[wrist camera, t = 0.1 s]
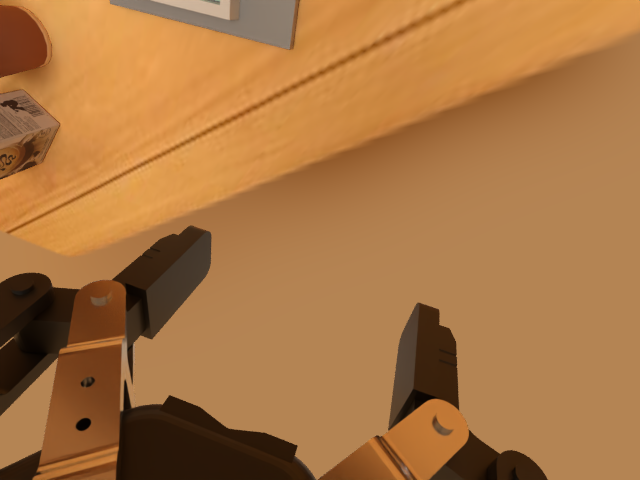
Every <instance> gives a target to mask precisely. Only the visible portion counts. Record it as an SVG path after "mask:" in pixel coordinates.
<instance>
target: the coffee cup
mask: <svg viewBox="0 0 640 480" xmlns="http://www.w3.org/2000/svg"><path fill="white" fill-rule="evenodd" d="M51 56H52V45H51V42H50V39H49V36H48V33H47V31H46V29H45V28H44V26H43V24H42V23H41V21H40V20H39V19H38V18H37V17H36V16H35V15H34V14H33V13H32V12H30V11H29V10H27V9H25V8H23V7H19V6H3V5H0V78H1V77H4V76H8V75H12V74H15V73H19V72H23V71H27V70H30V69H34V68H38V67H43V66H45V65H46V64H48V63H49V61H50V59H51Z"/></svg>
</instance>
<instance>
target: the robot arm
mask: <svg viewBox="0 0 640 480" xmlns="http://www.w3.org/2000/svg"><path fill="white" fill-rule="evenodd" d="M210 264H211V233H210V232H209V231H206V230H203V229H200V228H197V227H194V226H189V227H187V228H186V229H185V230H184V231H183V232H182V233H181V234H179V235H176V234H172V235H169V236H167V237H164V238H162V239H160V240H158V241H157V242H156V243H155V244H154V245H153V246H151V247H150V249H148V250H147V251H145V252H144V253H143V255H142V256H140V257H138V258H137V259H136V260H135V261H134V262H132V263H131V264H130V265H129V266H128V267H126V268H125V269H124V270H123V271H122V272H121V273H119V274H118V275H117V276H116V277H115V278H113V279H112V280H100V281H95V282H92V283H89V284H87V285H85V286H84V287H82V288H81V289H67V288H55V287H52V283H51V281H50V279H49V278H48V277H47V276H46V275H43V274H40V273H24V274H19V275H15V276H13V277H10V278H8V279H6V280H5V281H3V282H1V283H0V347H1V346H3V345H4V344H5V343H6V342H7V341H8V340H10V339H11V338H12V337H14V338H13V339H12V340H11V341H10V342H8V343H7V344H6V345H5V346H4V347H3V348H1V349H0V416H1V415H2V414H3V413H4V412H5V410H6V409H7V408H9V407H10V405H11V404H12V403H13V402H14V401H15V400H16V399H17V398H18V397H19V396H20V395H21V394H22V393H23V392H24V391H25V390H26V389H27V388H28V387H29V386H30V385H31V384H32V383H33V382H34V381H35V380H36V379H37V378H38V377H39V376H40V375H41V374H42V373H43V372H44V371H45V370H46V369H47V368H48V367H49V366H50V365H51V364H52V362H54V360H56V359H57V358H58V361H57V367H56V372H55V378H54V383H53V390H52V395H51V400H50V406H49V412H48V418H47V423H46V429H45V434H44V440H43V446H42V450H40V451H38V452H36V453H34V454H32V455H30V456H28V457H25V458H23V459H21V460H19V461H18V462H15V463H13V464H11V465H9V466H7V467H5V468H2V469H0V480H316V479H315V477H314V476H313V474H312V473H311V471H310V470H309V469H308V468H307V466H306V465H305V464H303V462H302V461H300V460H299V459H298V458H297V457H295V453H296V449H297V445H294V444H292V443H289V442H287V441H284V440H282V439H279V438H277V437H274V436H272V435H269V434H267V433H261V432H251V431H242V430H234V429H228V428H226V427H225V426H223V425H222V424H221V423H220V422H218V421H217V420H216V419H215V418H213V417H212V416H211V415H209V414H208V413H207V412H205V411H204V410H203V409H202V408H200V407H198V406H196V405H193V404H191V403H188V402H186V401H183V400H180V399H178V398H175V397H173V396H169V397H168V398H167V400H166V401H165V402H164V404H163V405H161V404H152V405H143V406H139V407H136V405H135V388H134V387H135V386H134V385H135V382H134V381H135V377H134V376H135V373H134V372H135V363H134V361H135V354H134V353H135V346H134V342H135V341H136V340H137V339H138V337H139V336H140V335H141V336H144V337H147V338H149V339H153V337H154V336H155V335H156V334H157V333H158V332H159V330H160V329H161V328H162V327H163V326H164V324H166V322H167V321H168V320H169V319H170V318H171V317H172V315H173V314H174V313H175V312H176V310H177V309H178V308H179V307H180V306H181V305H182V304H183V303H184V301H185V300H186V299H187V298H188V297H189V296H190V294H191V293H192V292H193V291H194V290H195V288H196V287H197V286H198V285H199V284H200V283H201V281H202V280H203V279H204V278H205V277H206V275H207V273H208V271H209V268H210ZM456 367H457V357H456V341H455V339H454V337H453V335H452V333H451V330H450V329H449V328H446V327H444V326H440V325H439V309H436V308H433V307H430V306H427V305H424V304H421V303H417V304H416V306H415V308H414V310H413V312H412V314H411V316H410V318H409V320H408V322H407V324H406V326H405V328H404V330H403V333H402V335H401V338H400V343H399V347H398V356H397V364H396V372H395V380H394V388H393V396H392V404H391V413H390V420H389V428H388V430H389V431H388V432H387V433H385V434H384V435H383V436H381V437H379V436H375V437H373V438H371V439H370V440H369V441H367V442H366V443H365V444H363V445H362V446H361V447H359V448H358V449H357V450H356V451H354V452H353V453H352V454H350V455H349V456H348V457H346V458H345V459H344V460H343V461H341V462H340V463H339V464H337V465H336V466H335V467H334V468H332V469H331V470H330V471H328V472H327V473H326V474H324V475H323V476H322V477H320V478H319V479H318V480H547V478H546V476H545V474H544V473H543V471H542V470H541V469H540V467H539V466H538V465H537V464H536V463H535V462H534V461H532V460H531V459H530V458H529V457H527V456H526V455H524V454H522V453H520V452H517V451H512V450H510V451H505V452H503V453H501V454H499V453H498V452H496V451H495V450H494V449H492V448H490V447H489V446H488V445H486V444H485V443H484V442H482V441H481V440H479V439H478V438H477V437H476V436H475V435H473V433H472V432H471V431H470V430H469V429H468V425H467V422H466V420H465V418H464V417H463V415H462V414H461V413H460V411H459V400H458V377H457V368H456Z"/></svg>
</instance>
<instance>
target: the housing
mask: <svg viewBox="0 0 640 480" xmlns="http://www.w3.org/2000/svg"><path fill="white" fill-rule="evenodd" d="M110 4H113V5H117V6H121V7H125V8H129V9H133V10H137V11H141V12H144V13H148V14H152V15H156V16H160V17H164V18H168V19H172V20H176V21H180V22H184V23H187V24H191V25H195V26H199V27H203V28H207V29H211V30H215V31H219V32H223V33H226V34H230V35H234V36H238V37H242V38H246V39H250V40H254V41H258V42H262V43H266V44H269V45H273V46H277V47H281V48H285V49H289V50H290V49H293V44H294V36H295V28H296V20H297V13H298V5H299V0H110Z"/></svg>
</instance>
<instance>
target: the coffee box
mask: <svg viewBox="0 0 640 480" xmlns="http://www.w3.org/2000/svg"><path fill="white" fill-rule="evenodd" d="M59 126H60V124H59V123H58V122H57V121H56V120H55V119H54V118H53V117H52V116H51V115H50V114H49V113H48V112H46V111H45V110H44V109H43V108H42V107H41V106H40V105H39V104H38V103H37V102H36V101H35V100H34V99H33V98H32V97H30V96H29V95H28V94H27V93H26V92H25V91H24V90H17V91H12V92H7V93H3V94H0V179H3V178H5V177H8V176H10V175H13V174H15V173H18V172H20V171H23V170H25V169H28V168H30V167H33V166H35V165H38V164H40V163H42V161H43V159H44V157H45V155H46V153H47V150H48V148H49V146H50V144H51V142H52V140H53V138H54V136H55V134H56V132H57V130H58V128H59Z"/></svg>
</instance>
